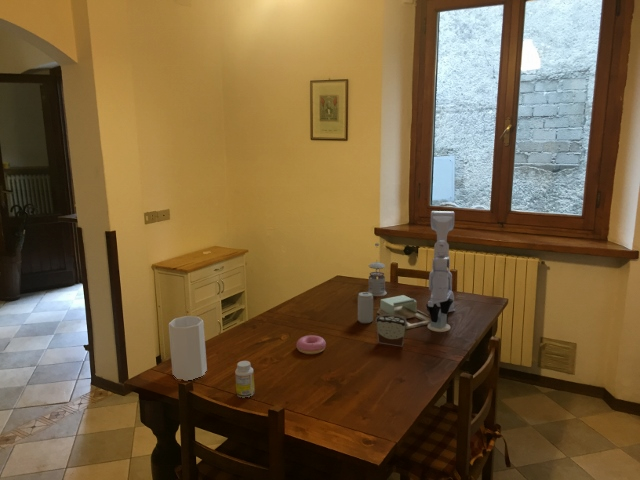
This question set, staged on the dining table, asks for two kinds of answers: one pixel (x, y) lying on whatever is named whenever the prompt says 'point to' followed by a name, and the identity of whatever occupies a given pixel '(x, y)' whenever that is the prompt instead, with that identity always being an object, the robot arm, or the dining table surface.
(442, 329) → the cream saucer
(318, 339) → the doughnut
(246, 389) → the supplement bottle
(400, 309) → the beige open frame
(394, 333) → the food container
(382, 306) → the sliding cover
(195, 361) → the cup
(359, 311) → the beverage can
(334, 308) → the dining table surface
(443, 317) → the slate-blue block
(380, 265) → the french press
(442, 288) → the robot arm
